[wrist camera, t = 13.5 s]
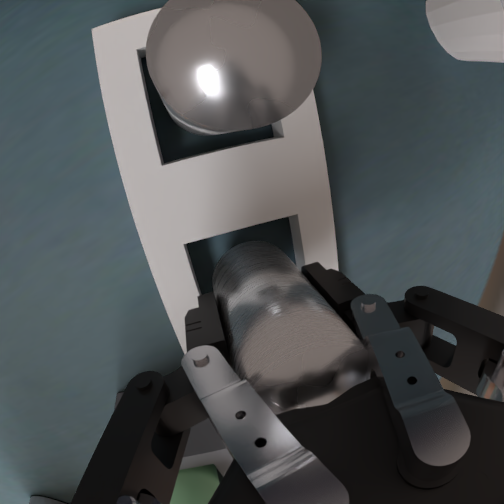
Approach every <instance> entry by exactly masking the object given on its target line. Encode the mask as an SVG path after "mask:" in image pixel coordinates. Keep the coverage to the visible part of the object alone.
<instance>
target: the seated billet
mask: <svg viewBox="0 0 504 504" xmlns="http://www.w3.org/2000/svg"><path fill="white" fill-rule="evenodd" d="M146 61H147V67H148V70H149V74H150V77H151V79H152V81H153V83H154V85H155V87H156V89H157V91H158V93H159V95H160V97H161V99H162V101H163V103H164V105H165V107H166V109H167V111H168V113H169V115H170V117H171V118H172V120H173V121H174V122H175V123H176V124H177V125H178V126H179V127H181V128H182V129H184V130H185V131H187V132H189V133H192V134H196V135H201V136H212V135H218V134H224V133H229V132H236V131H242V130H248V129H255V128H259V127H263V126H267V125H270V124H272V123H275V122H277V121H279V120H281V119H283V118H285V117H287V116H288V115H289V114H291V113H292V112H294V111H295V110H296V109H297V108H298V107H299V106H300V105H301V104H303V102H304V101H305V100H306V99H307V97H308V96H309V95H310V93H311V92H312V90H313V88H314V87H315V84H316V82H317V79H318V77H319V73H320V69H321V61H322V53H321V44H320V39H319V36H318V33H317V30H316V28H315V26H314V24H313V22H312V20H311V18H310V17H309V15H308V14H307V12H306V11H305V10H304V9H303V8H302V6H301V5H300V4H299V3H298V2H296V1H295V0H169V1H168V2H167V3H166V4H165V5H164V6H163V7H162V9H161V10H160V11H159V13H158V14H157V15H156V17H155V19H154V21H153V23H152V25H151V27H150V30H149V33H148V37H147V42H146Z"/></svg>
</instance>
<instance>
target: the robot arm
mask: <svg viewBox="0 0 504 504" xmlns="http://www.w3.org/2000/svg"><path fill="white" fill-rule="evenodd" d="M301 272H302V273H303V275H304V276H305V277H306V278H307V279H308V280H309V281H310V283H311V284H312V285H313V286H314V287H315V288H316V289H317V291H318V292H319V293H320V294H321V295H322V296H323V297H324V299H325V300H326V301H327V302H328V303H329V304H330V306H331V307H332V308H333V309H334V310H335V311H336V313H337V314H338V315H339V316H340V317H341V318H342V320H343V321H344V322H345V323H346V324H347V325H348V327H349V328H350V329H351V330H352V331H353V332H354V334H355V335H356V336H357V337H358V338H359V340H360V341H361V342H362V343H363V344H364V346H365V347H366V349H367V350H368V358H367V375H366V381H364V382H362V383H360V384H357V385H355V386H353V387H351V388H350V389H349V390H347V391H346V392H344V393H343V394H341V395H340V396H338V397H337V398H336V399H334V400H333V401H331V402H329V403H327V404H324V405H318V406H312V407H305V408H298V409H292V410H289V411H286V412H283V413H280V414H277V415H275V414H274V413H273V412H272V411H271V410H270V408H269V407H268V406H267V405H266V404H265V402H264V401H263V400H262V399H261V397H260V396H259V395H258V394H257V393H256V391H255V390H254V389H253V388H252V386H251V385H250V384H249V383H248V381H247V380H246V379H242V380H240V378H239V377H238V376H237V375H236V373H235V372H234V371H233V368H232V364H231V360H230V353H229V350H228V346H227V342H226V338H225V334H224V330H223V326H222V322H221V318H220V314H219V310H218V306H217V302H216V298H215V295H214V292H210V293H206V294H203V295H199V296H197V298H198V305H199V307H198V308H194V309H190V310H188V312H187V314H186V316H185V332H186V333H185V334H186V348H187V353H186V354H185V355H184V357H183V358H182V366H181V367H180V368H179V369H178V370H176V371H175V372H173V373H171V374H169V375H167V376H165V377H162V375H161V374H159V373H158V372H154V371H147V372H143V373H140V374H138V375H136V376H135V377H134V378H133V379H131V381H130V382H129V383H128V385H127V387H126V389H125V391H124V393H123V395H122V397H121V399H120V401H119V403H118V405H117V407H116V409H115V411H114V413H113V415H112V417H111V419H110V421H109V423H108V425H107V427H106V429H105V431H104V433H103V435H102V437H101V439H100V441H99V443H98V445H97V447H96V450H95V452H94V454H93V456H92V458H91V460H90V462H89V464H88V467H87V469H86V471H85V473H84V475H83V477H82V480H81V482H80V484H79V486H78V488H77V491H76V493H75V495H74V497H73V500H72V502H71V504H170V501H171V497H172V494H173V490H174V487H175V483H176V480H177V476H178V473H179V469H180V466H181V462H182V459H183V455H184V452H185V448H186V445H187V441H188V438H189V434H190V430H191V427H193V426H195V425H196V424H198V423H200V422H202V421H204V420H206V419H208V418H209V420H210V422H211V423H212V425H213V427H214V429H215V430H216V432H217V434H218V435H219V437H220V439H221V440H222V442H223V444H224V445H225V447H226V449H227V450H228V452H229V454H230V455H231V457H232V459H233V461H232V463H231V464H230V466H229V468H228V470H227V472H226V473H225V475H224V477H223V479H222V480H221V482H220V484H219V485H218V487H217V489H216V491H215V492H214V494H213V496H212V497H211V499H210V501H209V502H208V504H504V317H503V316H501V315H499V314H496V313H494V312H491V311H488V310H486V309H484V308H481V307H479V306H476V305H474V304H471V303H469V302H466V301H463V300H461V299H458V298H456V297H453V296H451V295H448V294H445V293H443V292H440V291H438V290H435V289H432V288H430V287H426V286H416V287H412V288H410V289H408V290H407V291H406V293H405V299H404V300H402V301H396V302H390V303H386V301H385V299H384V298H382V297H381V296H378V295H374V294H365V293H363V292H362V291H361V290H360V289H359V288H358V287H357V286H356V285H355V284H353V283H351V281H350V280H349V279H348V278H346V276H345V275H343V274H342V273H341V272H340V271H337V270H334V269H328V270H326V269H325V268H324V267H323V266H322V265H321V264H320V263H319V262H314V263H311V264H308V265H304V266H302V267H301ZM434 326H436V327H439V328H441V329H443V330H445V331H447V332H450V333H452V334H453V335H454V336H455V338H456V340H457V345H456V346H455V345H453V344H451V343H449V342H447V341H444V340H442V339H440V338H438V337H436V336H434V335H432V334H433V328H434ZM435 373H436V374H438V375H440V376H442V377H444V378H445V379H448V380H449V381H451V382H453V383H455V384H457V385H459V386H460V387H462V388H464V389H466V390H468V391H470V392H472V393H474V394H476V395H477V396H478V397H477V396H472V395H468V394H463V393H458V392H454V391H450V390H445V389H443V388H442V386H441V384H440V382H439V380H438V378H437V376H436V374H435ZM29 504H65V503H62V502H60V501H56V500H53V499H50V498H46V497H40V496H32V497H30V502H29Z"/></svg>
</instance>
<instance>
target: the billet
mask: <svg viewBox="0 0 504 504" xmlns="http://www.w3.org/2000/svg"><path fill="white" fill-rule="evenodd" d="M212 286H213V291H214V295H215V298H216V302H217V306H218V310H219V314H220V318H221V322H222V326H223V330H224V334H225V338H226V342H227V346H228V350H229V353H230V360H231V364H232V368H233V371H234V372H235V373H236V375H237V376H238V377H239V378H240V380H242V379H246V380H247V381H248V383H249V384H250V385H251V386H252V388H253V389H254V390H255V391H256V393H257V394H258V395H259V396H260V397H261V399H262V400H263V401H264V402H265V404H266V405H267V406H268V407H269V408H270V410H271V411H272V412H273V413H274V414H275V415H277V414H280V413H283V412H286V411H289V410H292V409H298V408H305V407H312V406H318V405H324V404H327V403H329V402H331V401H333V400H334V399H336V398H337V397H338V396H340V395H341V394H343V393H344V392H346V391H347V390H349V389H350V388H351V387H353V386H355V385H357V384H360V383H362V382H364V381H366V375H367V358H368V350H367V349H366V347H365V346H364V344H363V343H362V342H361V341H360V340H359V338H358V337H357V336H356V335H355V334H354V332H353V331H352V330H351V329H350V328H349V327H348V325H347V324H346V323H345V322H344V321H343V320H342V318H341V317H340V316H339V315H338V314H337V313H336V311H335V310H334V309H333V308H332V307H331V306H330V304H329V303H328V302H327V301H326V300H325V299H324V297H323V296H322V295H321V294H320V293H319V292H318V291H317V289H316V288H315V287H314V286H313V285H312V284H311V283H310V281H309V280H308V279H307V278H306V277H305V276H304V275H303V273H302V272H301V271H300V270H299V269H298V268H297V267H296V265H295V264H294V263H293V262H292V261H291V260H290V259H289V257H288V256H287V255H286V254H285V253H284V252H283V251H282V250H281V249H280V248H278V247H277V246H275V245H273V244H271V243H268V242H264V241H248V242H244V243H241V244H238V245H236V246H234V247H233V248H231V249H229V250H228V251H227V252H226V253H225V254H224V255H223V256H222V257H221V258H220V260H219V261H218V263H217V265H216V266H215V269H214V272H213V277H212Z"/></svg>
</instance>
